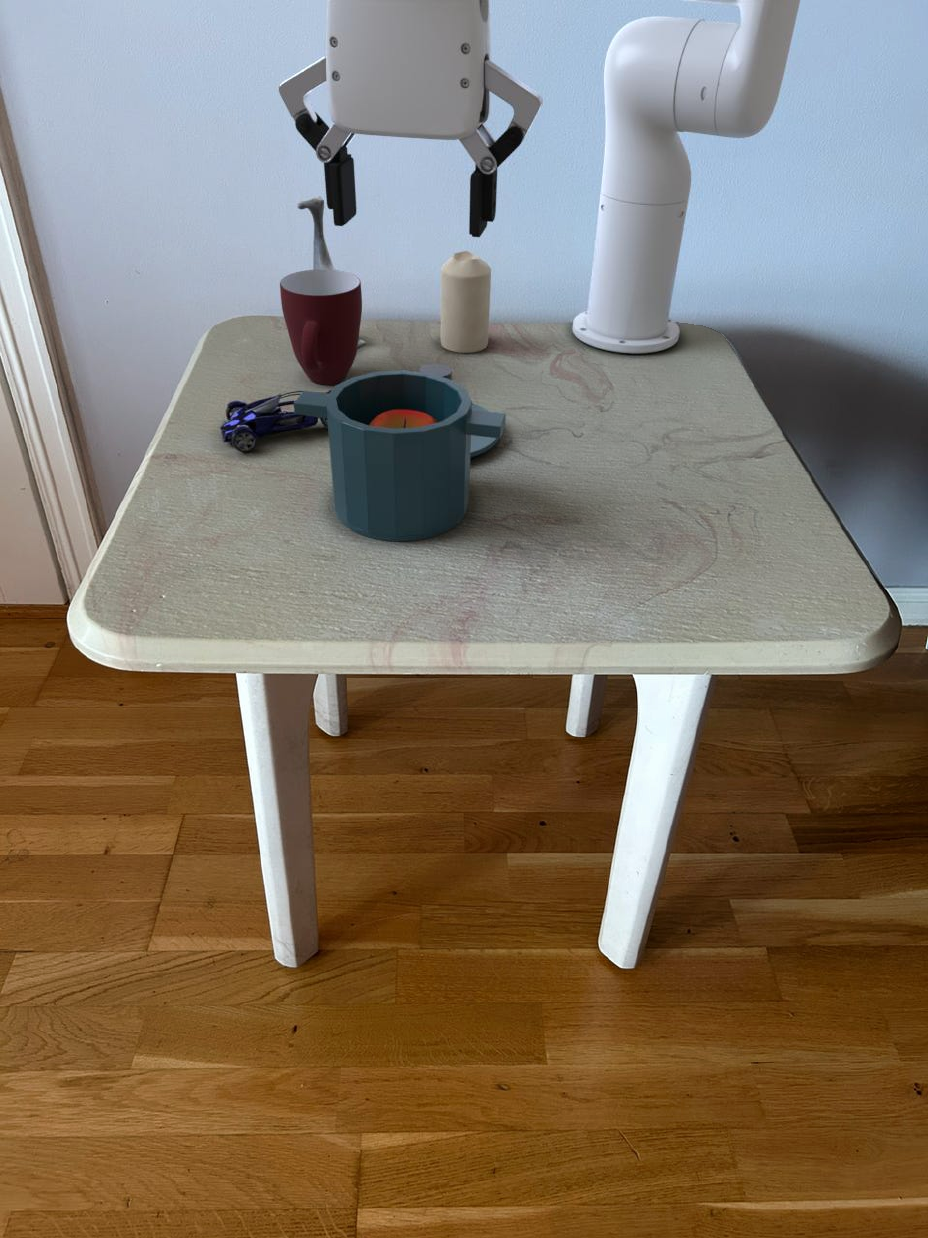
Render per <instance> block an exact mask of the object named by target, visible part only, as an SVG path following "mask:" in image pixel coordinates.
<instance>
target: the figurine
mask: <svg viewBox="0 0 928 1238" xmlns="http://www.w3.org/2000/svg"><path fill="white" fill-rule="evenodd" d="M296 207H297V209H299V210H305V209H308V211H309V212H310V214H311V216H312V219H313V254H312V255H313V256H312V258H313V259H312V260H313V263H312V264H313V265H312V268H313V269H312V270H318V269H326V270H336V269H335V267H334V265H333V262H332V257H331V256H330V252H329V249H328V245H327V243H326V239H325V235H324V211H325V200H324V199H323V198H322V196H317V197H311V198H310V199H307V200H300V201H298V202H297V206H296ZM365 344H366V341H364V340H362V339H360V338H359V339H358V347H357V349H358V348H360V347H362V346H364V345H365Z"/></svg>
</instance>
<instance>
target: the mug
mask: <svg viewBox="0 0 928 1238" xmlns="http://www.w3.org/2000/svg"><path fill="white" fill-rule="evenodd" d="M279 291H280V293H279V294H280V302H281V310H282V315H283V318H284V322H285V325H286V330H287V333H288V336H289V340H290V343H291V347H292V351H293V355H294V357H295V359H296V361H297V362H298V364H299V366H300V367H301V369H302V371H303V372H304V374H305V375H306V377H307V378H308V379H309V381H311V382H313V383H315V384H319V385H334V384H338V383H339V384H340V383H342V382H344V381H345V379H346V378H347V377H348V374H349V372H350V371H351V369H352V367H353V364H354V362H355V358H356V357H357V352H358V348H359V347H358V339H360V332H361V331H360V330H361V323H362V314H363V294H362V282H361V279H360V278H359V277H358V276H357V275H355V274H353V273H350V272H347V271H344V270H338V269H335V270H326V269H318V270H313V269H307V270H306V269H305V270H301V271H297V272H293V273H290V274H288V275H286V276H284V277H283V278H282V279H281V280H280V282H279ZM357 347H358V348H357Z"/></svg>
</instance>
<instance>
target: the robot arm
mask: <svg viewBox="0 0 928 1238" xmlns="http://www.w3.org/2000/svg"><path fill="white" fill-rule="evenodd" d="M681 1H683V2H696V3H710V4H725V5H734V6H737V7H738V8H739V12H740V22H726V21H718V20H717V21H716V20H706V19H701V18H688V17H677V16H676V17H675V16H665V15H664V16H660V15H659V16H647V17H641V18H638V19H634V20H633V21H630V22H628V23H627V24H625V25H624V26H622V27H621V28H620V29H619V30H618V31H617V32H616V34H615V35H614V37H613V38H612V40H611V42H610V43H609V46H608V49H607V52H606V56H605V62H604V71H603V90H604V92H603V93H604V111H605V137H604V138H605V140H604V155H603V156H604V157H603V167H602V178H601V186H600V196H599V203H598V213H597V222H596V230H595V231H596V232H595V239H594V240H595V241H594V248H593V249H594V250H593V257H592V266H591V278H590V286H589V293H588V301H587V310H585V311H582V312H580V313H579V314H578V315H576V316H575V317H574V319H573V321H572V329H571V330H572V333H573V335H574V336H575V337H576V338H577V339H578V340H579V341H581V342H582V343H584V344H586V345H588V346H591V347H593V348H596V349H599V350H604V351H609V352H613V353H620V354H649V353H650V354H651V353H656V352H660V351H665V350H667V349H670V348H671V347H673V346H675V344H677V342H678V341H679V338H680V333H681V332H680V330H681V329H680V327H679V325H678V324H677V322H675V320H673V319H672V318H670V311H671V307H672V299H673V293H674V288H675V281H676V275H677V271H678V263H679V257H680V252H681V247H682V239H683V233H684V230H685V229H684V228H685V221H686V216H687V211H688V205H689V199H690V193H691V187H692V169H691V164H690V160H689V157H688V153H687V150H686V149H685V146H684V144H683V141H682V139H681V137H680V135H679V133H684V132H686V133H691V134H692V133H693V134H694V133H695V134H699V135H700V134H701V135H708V136H715V137H721V138H722V137H723V138H732V139H745V138H751V137H753V136H755V135H757V134H759V133H760V132H761V131H762V130H763V129H764V128H765V127H766V125H767V124H768V123H769V121H770V119H771V117H772V116H773V113H774V110H775V107H776V105H777V102H778V100H779V99H778V98H779V95H780V92H781V88H782V83H783V80H784V75H785V72H786V66H787V62H788V57H789V53H790V49H791V48H790V47H791V43H792V39H793V34H794V30H795V26H796V22H797V18H798V13H799V8H800V3H801V0H681ZM325 19H326V21H325V22H326V23H325V24H326V25H325V55H324V56H323V57H322V58H319V59H318V60H317V61H315V62H314V63H312V64H310V65H308V66H307V67H305V68H304V69H302V70H300V71H299V72H297V73H295V74H294V75H292V76H290V77H289V78H287V79H285V80H284V81H282V82H281V83H280V84H279V86H278V93H279V96H280V97H281V99H282V101H283V103H284V105H285V107H286V109H287V111H288V113H289V115H290V116H291V118H293V121H294V125H295V130H297V132H298V133H299V134H300V135H301V137H302V138H303V139H304V140H305V142H307V143H308V144H309V146H310V147H311V148H312V149H313V150H314V151H315V155H316V158H317V160H319V161H320V162H321V163H323V171H324V184H325V197H326V206H327V208H328V209H329V210H332V217H333V224H334V226H335V227H344V226H345V225H346V224H348V223H349V222H350V221H351V220H352V219H353V218H354V217H355V216H356V215H357V195H356V175H355V174H356V173H355V159H354V158H353V157H352V153H348V146H349V145H350V143H351V142H352V140H353V139H354V138H355V136H356V135H364V136H379V137H391V138H405V139H406V138H407V139H424V140H440V141H442V140H443V141H457V140H458V141H459V142H460V144H462V146H463V148H464V149H465V151H466V152H467V154H468V156H469V157H470V158H471V159H472V161H473V162H474V163H475V164H474V165H475V168H474V170H473V172H472V173H471V174H470V179H469V218H468V219H469V223H468V228H469V229H468V234H469V235H471V237H472V238H481V237H482V235H483V233H484V232H485V230H486V229H487V227H488V222H489V223H492V222H494V221H495V219H496V213H497V212H496V211H497V192H498V191H497V189H498V169H499V167H500V166H501V165H502V164H503V163H504V162H505V161H506V160H507V159H508V158H509V157H510V156H511V155H512V154H513V153H514V152H515V151H516V150H517V149H518V148H519V147H520V146H521V144H522V143H523V142H524V140H525V139H526V137H527V134H528V132H529V131H530V129H531V127H532V125H533V123H534V122H535V119H536V118H537V116H538V114H539V112H540V110H541V108H542V107H543V103H544V101H543V100H544V99H543V97H542V95H541V94H540V93H539V92H537V91H536V90H534V89H533V88H531V86H529V85H527V84H525V83H523V82H522V81H521V80H519V79H518V78H517V77H515V76H514V75H512V74H510V73H509V72H508V71H506V70H505V69H503V68H502V67H500V66H499V65H497V64H496V63H494V62H493V61H492V54H491V53H492V48H491V47H492V45H491V43H492V42H491V41H492V40H491V15H490V0H326V18H325ZM325 83H326V95H327V97H326V98H327V105H328V111H329V112H328V113H329V116H330V119H331V121H332V124H331V126H330V127H329V125H328V124H327V123H326V122H325V121H324V119H322V117H321V116H320V115H319V114H318V112H316V111H315V110H314V107H313V104H312V102H311V100H310V94H311V92H312V91H313V90H315V89H317V88H318V87H320V86H321V85H323V84H325ZM492 94H493V95H495V96H496V97H498V98H499V99H501V100H502V101H504V102H505V103H507V104H508V105H510V107H512V109H513V117H512V118H511V120H510V123H509V125H508V127H507V129H506V130H505V131H504V132H503V133H502V134H501V135H500V136H499V137H498V138H495V137H494V135H493V134H492V133H491V131H490V130H489V128H488V127H487V125H486V122H487V121H488V119H489V116H490V113H491V106H492V105H491V104H492Z"/></svg>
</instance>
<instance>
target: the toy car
mask: <svg viewBox="0 0 928 1238" xmlns="http://www.w3.org/2000/svg"><path fill="white" fill-rule="evenodd" d="M303 391H304V390H296V391H290V392H285V393H282V392H280V393H278V394H277V395H274V396H270V397H266V398H261V399H259V400H255V401H252V402H250V403H247V402H246V401H245V400H242V399H233V400H231V401H229V402H228V403H227V405H226V408H225V416H226V420H223V421H222V423H221V426H219V430H220V432H221V437H222V442H223V443H232V446H233V447H234V449H236V450H237V451H238V452H241V453H249V452H252V451H253V450H255V448H256V447H257V446H258V441H259V440H258V439H262V438H265V437H268V436H273V435H277V434H283V433H284V434H285V433H288V432H295V431H301V430H304V429H308V428H311V427H315V426H317V424H318V423H319V421H320V422H321V424H322V425H323V426H324V427H326V428H327V429H328V422H327V418H323V417H315V416H306V415H298V414H295V412H294V411H287V410H283V411H282V407H285V406H290V405H291V406H292V405H293V406H294V402H295V401H296V400H295V399H294V400H293V399H292V400H286V401H281V402H280V400H281V399H284V398H288V397H293V396H300V395H301V393H302V392H303ZM331 391H332V389H329V390H328V391H326V392H325V393H328V394H329V393H330V392H331ZM318 392H319V391H318ZM319 393H322V391H321V392H319Z"/></svg>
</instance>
